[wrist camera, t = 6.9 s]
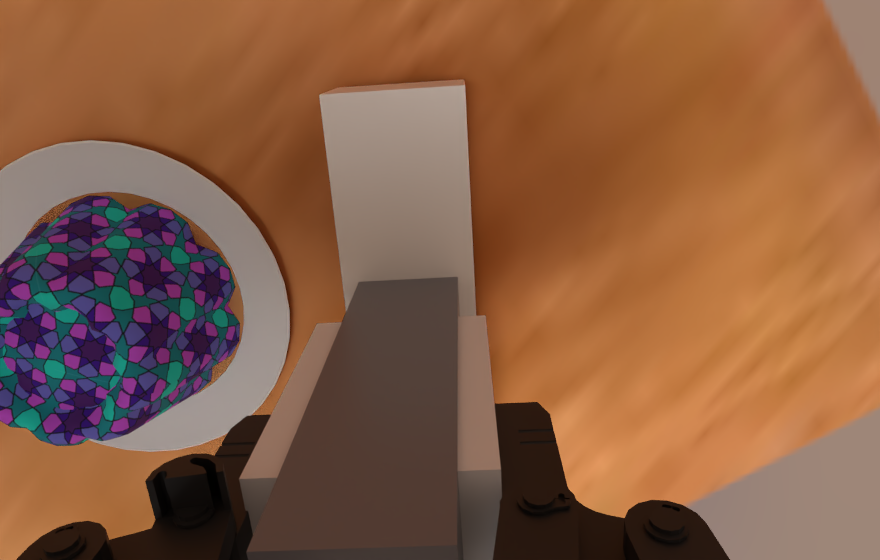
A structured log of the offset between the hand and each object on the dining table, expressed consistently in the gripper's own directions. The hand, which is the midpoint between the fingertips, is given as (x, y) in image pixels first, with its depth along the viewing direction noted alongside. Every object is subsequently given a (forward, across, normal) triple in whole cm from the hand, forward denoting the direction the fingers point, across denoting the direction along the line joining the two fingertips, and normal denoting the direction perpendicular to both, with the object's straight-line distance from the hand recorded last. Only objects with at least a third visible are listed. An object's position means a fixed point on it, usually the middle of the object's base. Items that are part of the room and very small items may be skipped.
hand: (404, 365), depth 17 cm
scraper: (+6, 0, 0) cm, 6 cm away
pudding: (+6, -11, 0) cm, 12 cm away
